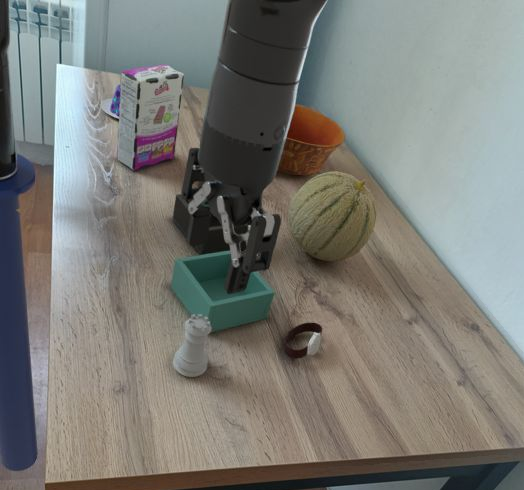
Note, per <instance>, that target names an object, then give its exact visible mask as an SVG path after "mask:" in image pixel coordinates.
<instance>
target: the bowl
mask: <svg viewBox="0 0 524 490" xmlns="http://www.w3.org/2000/svg"><path fill="white" fill-rule="evenodd" d="M345 140H346V135H345V132H344V130H343V129H342V127H341V126H340V125H339V124H338V123H337V122H336V121H334V120H332V119H330V118H329V117H327V116H326V115H324V114H322V113H320V112H317V111H316V110H314V109H311V108H308V107H305V106H302V105H299V104H295V108H294V113H293V116H292V120H291V123H290V127H289V130H288V134H287V137H286V141H285V144H284V148H283V152H282V155H281V159H280V162H279V166H278V169H277V171H279V172H282V173H285V174H289V175H295V176H311V175H314V174H316V173H319V171H321V170H322V169H323V167H324V166H325V164H326V162H327V161H328V159H329V158H330V156H331V155H332V153H334V152H335V151H336V150H337V149H338V148H339V147H340V146H341V145H342V144H344V142H345Z"/></svg>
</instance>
